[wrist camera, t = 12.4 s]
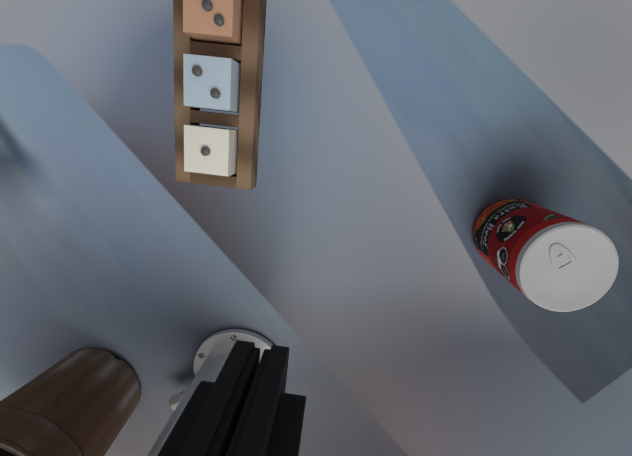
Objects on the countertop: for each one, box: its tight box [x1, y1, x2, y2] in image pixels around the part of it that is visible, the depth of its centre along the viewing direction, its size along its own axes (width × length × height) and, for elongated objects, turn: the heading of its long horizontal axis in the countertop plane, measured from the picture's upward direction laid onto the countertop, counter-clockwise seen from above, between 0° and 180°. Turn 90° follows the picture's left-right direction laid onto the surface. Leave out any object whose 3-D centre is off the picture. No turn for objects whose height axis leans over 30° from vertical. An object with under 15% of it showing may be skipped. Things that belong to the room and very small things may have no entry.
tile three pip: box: [183, 0, 243, 46], centre depth 31 cm, size 5×5×4 cm
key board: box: [173, 0, 267, 190], centre depth 35 cm, size 20×8×2 cm, turn 174°
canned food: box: [473, 199, 619, 312], centre depth 32 cm, size 8×8×11 cm
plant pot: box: [0, 348, 141, 456], centre depth 41 cm, size 16×16×16 cm
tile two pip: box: [183, 54, 241, 112], centre depth 33 cm, size 5×5×4 cm
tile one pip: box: [184, 125, 238, 177], centre depth 35 cm, size 5×5×4 cm
